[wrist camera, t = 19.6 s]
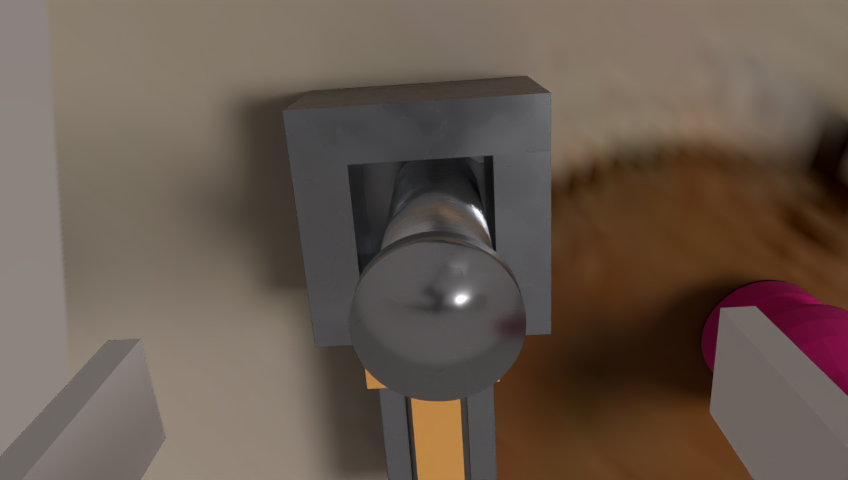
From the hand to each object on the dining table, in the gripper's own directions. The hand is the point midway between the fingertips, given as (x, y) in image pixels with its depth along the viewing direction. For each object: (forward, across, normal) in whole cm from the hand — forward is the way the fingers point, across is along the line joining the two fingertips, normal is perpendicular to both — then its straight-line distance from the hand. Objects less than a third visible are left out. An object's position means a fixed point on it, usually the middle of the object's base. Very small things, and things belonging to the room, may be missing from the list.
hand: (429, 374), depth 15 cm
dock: (+17, 0, -6) cm, 18 cm away
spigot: (+16, 0, -1) cm, 16 cm away
